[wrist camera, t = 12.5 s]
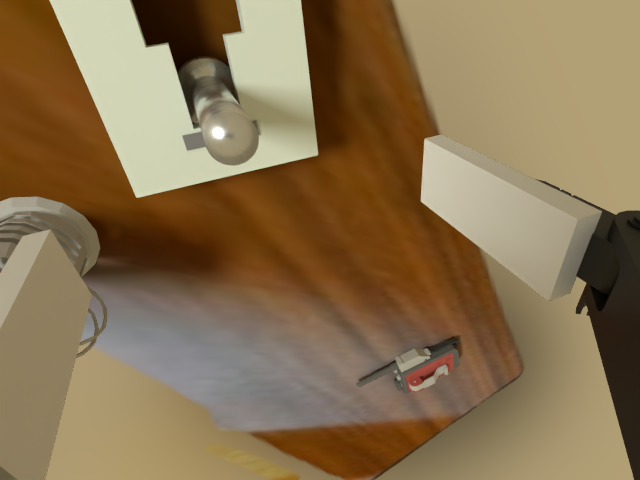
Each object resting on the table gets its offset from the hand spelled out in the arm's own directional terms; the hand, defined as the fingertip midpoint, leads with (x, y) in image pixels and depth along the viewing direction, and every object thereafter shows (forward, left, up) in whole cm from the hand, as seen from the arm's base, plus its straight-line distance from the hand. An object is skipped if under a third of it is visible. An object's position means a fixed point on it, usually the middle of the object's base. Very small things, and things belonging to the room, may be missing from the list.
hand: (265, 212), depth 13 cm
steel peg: (0, 0, -24) cm, 24 cm away
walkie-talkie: (+52, +22, -25) cm, 62 cm away
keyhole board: (-4, 0, -24) cm, 24 cm away
